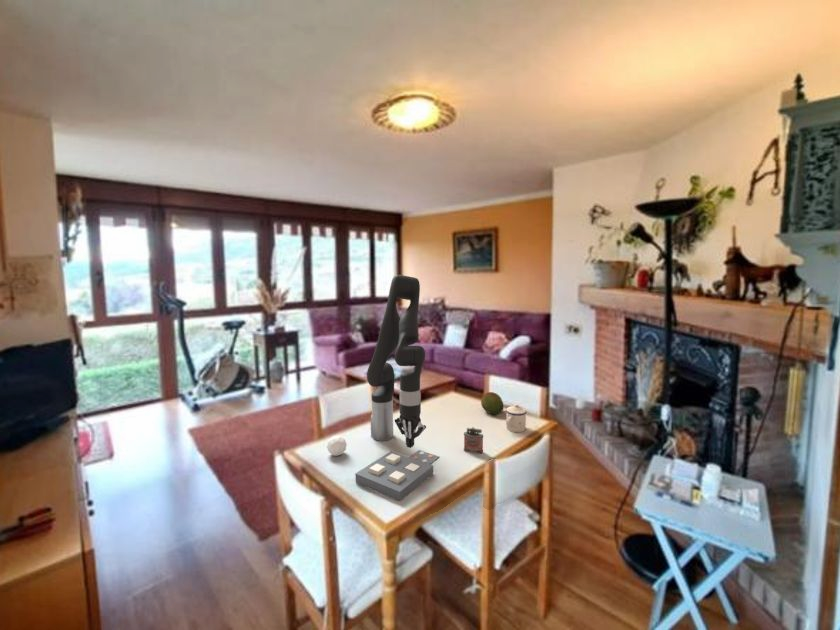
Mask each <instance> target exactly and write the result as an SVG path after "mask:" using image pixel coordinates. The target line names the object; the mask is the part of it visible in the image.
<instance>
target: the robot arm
mask: <svg viewBox="0 0 840 630" xmlns="http://www.w3.org/2000/svg"><path fill="white" fill-rule="evenodd" d="M420 290H421V284H420V281H419V279H418V278H416V277H413V276H408V275H403V274H394V276H393V277H392V279H391V281H390V287H389V291H388V298H387V301H386V302H387V303H386V307H385V311H384V315H383V319H382V322H381V326H380V329H379V332H378V338H377V342H376V345H375V349H374V353H373V356H372V358H371V361H370V362H369V366H368V368H367V370H366V371H367V372H366V380H367V383H368V384H369V386H371V387H374V388H376V387H377V388H376V389H375V390H374V391H373V392H372V393H371V415H370V437H372V438H373V439H374V440H376V441H379V442H380V441H384V442H385V441H388V440H391V439H392V438H394V423H395V424H396V426H397V428H398V430H399V433H400V434H401V435H404V437H405V445H406V447H407V448H409V449H411V448H413V447H414V446H415V439H416V438H418V437H419V436H420V435H421V434H422V433H423V432H424V431H425V430H426V429H427V426H426V425H425V424H423V423H422V420H421V414H422V413H421V411H422V410H421V409H422V408H421V403H422V402H421V399H422V395H421V375H422V370H423V366H424V363H425V360H426V350H425V348H424V347H423V346H421V345H415V344H417V342H418V341H419V339H420V338H419V335H420V334H419V323H418V321H419V320H418V318H419V309H420V308H419V305H420V294H421V293H420V292H421V291H420ZM398 299H402V300H405V301H409V305H408V307H407V308H406V310H405V311H404V313H403V314H402V315H400V314H399V311H398V307H397V302H398V301H397V300H398ZM394 352H395V353H394ZM393 353H394V361H395V363H396V364H397V365H398V366H399V367H413V368H412V369H409V370H405V371H403V372H401V374H400V375H399V377H400V378H399V382H400V383H399V417H397V418H395V419H394V407H393V406H394V400H393V397H394V394H395V370H394V367H393V366H392V364H391V363H389V362H387V361H388V360H389V358H390V357H391V356H392V354H393Z"/></svg>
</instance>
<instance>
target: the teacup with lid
mask: <svg viewBox="0 0 840 630" xmlns="http://www.w3.org/2000/svg"><path fill="white" fill-rule="evenodd" d="M505 411H506V421H505V422H506V426H505V427H506V429H507V430H508V431H509V430H510V432H512V431H513V432H514V433H522V431H523V432H524V431H525V430H526V424H527V423H526V421H527V417H526V415H527V410H526V408H525V407H522V406H520V405H519V404H518V403H514V405H512V406H509V407H507V408H506V409H505ZM513 432H512V433H513Z"/></svg>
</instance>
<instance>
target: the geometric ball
mask: <svg viewBox="0 0 840 630" xmlns="http://www.w3.org/2000/svg"><path fill="white" fill-rule="evenodd" d="M326 446H327V447H326V449H327V451H328V453H329V454H331V456H336V457H338V456H340V455H342V454H344V453H345V451H346V450H347V446H348V444H347V441H346V439H345V438H344V437H343V436H341V435H334V436H332V437H330V439H329V440H328V441H327V445H326Z"/></svg>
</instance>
